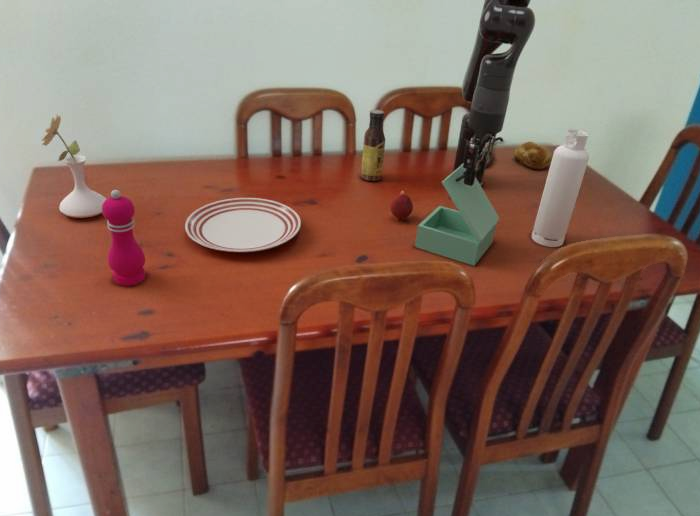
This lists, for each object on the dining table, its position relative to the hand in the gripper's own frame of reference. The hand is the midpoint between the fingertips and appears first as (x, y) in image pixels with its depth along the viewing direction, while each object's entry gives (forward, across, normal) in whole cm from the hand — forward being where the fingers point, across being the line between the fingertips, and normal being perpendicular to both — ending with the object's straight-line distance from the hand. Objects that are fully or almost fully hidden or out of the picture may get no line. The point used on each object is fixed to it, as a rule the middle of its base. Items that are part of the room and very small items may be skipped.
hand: (473, 179), depth 138 cm
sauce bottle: (+19, +24, +37) cm, 48 cm away
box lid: (+6, 0, 0) cm, 6 cm away
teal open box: (+18, 0, +1) cm, 18 cm away
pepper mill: (+19, -56, +53) cm, 79 cm away
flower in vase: (+19, -41, +84) cm, 96 cm away
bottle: (+18, +18, -18) cm, 30 cm away
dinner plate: (+19, -26, +46) cm, 56 cm away
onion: (+18, +4, +18) cm, 26 cm away
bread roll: (+18, +68, +1) cm, 71 cm away
